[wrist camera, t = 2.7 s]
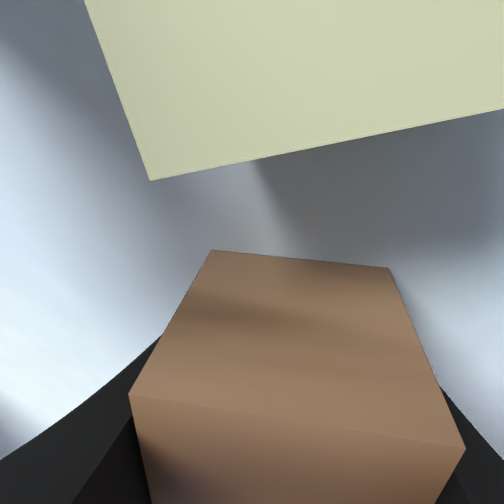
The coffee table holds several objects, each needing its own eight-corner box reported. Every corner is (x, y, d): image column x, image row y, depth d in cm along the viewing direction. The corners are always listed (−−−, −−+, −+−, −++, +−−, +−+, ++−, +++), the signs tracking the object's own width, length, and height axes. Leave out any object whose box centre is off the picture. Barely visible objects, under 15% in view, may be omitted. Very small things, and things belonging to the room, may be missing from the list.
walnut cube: (354, 391, 11) (384, 589, 7) (214, 370, 12) (160, 540, 7) (388, 268, 9) (466, 448, 4) (211, 249, 9) (128, 393, 5)
